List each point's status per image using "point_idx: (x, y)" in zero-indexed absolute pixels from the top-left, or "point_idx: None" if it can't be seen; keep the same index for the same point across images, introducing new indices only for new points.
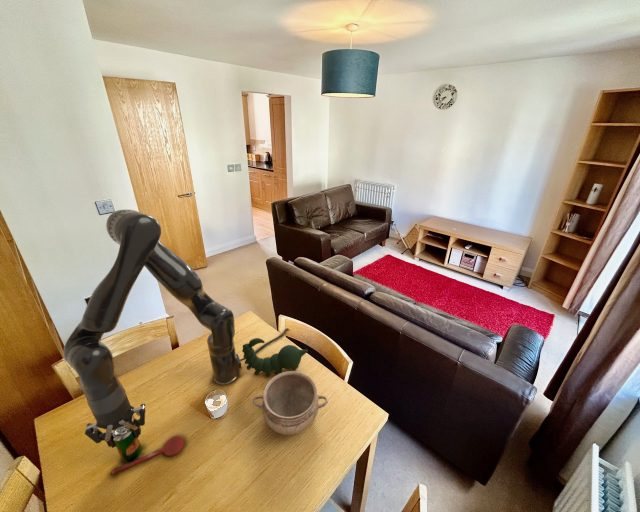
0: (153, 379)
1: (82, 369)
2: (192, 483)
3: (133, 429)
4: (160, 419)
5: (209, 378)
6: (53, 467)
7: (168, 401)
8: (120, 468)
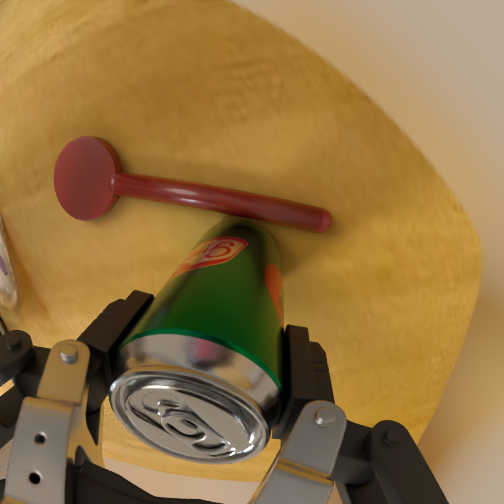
0: None
1: None
2: (84, 12)
3: (83, 359)
4: None
5: None
6: (444, 367)
7: None
8: (296, 213)
